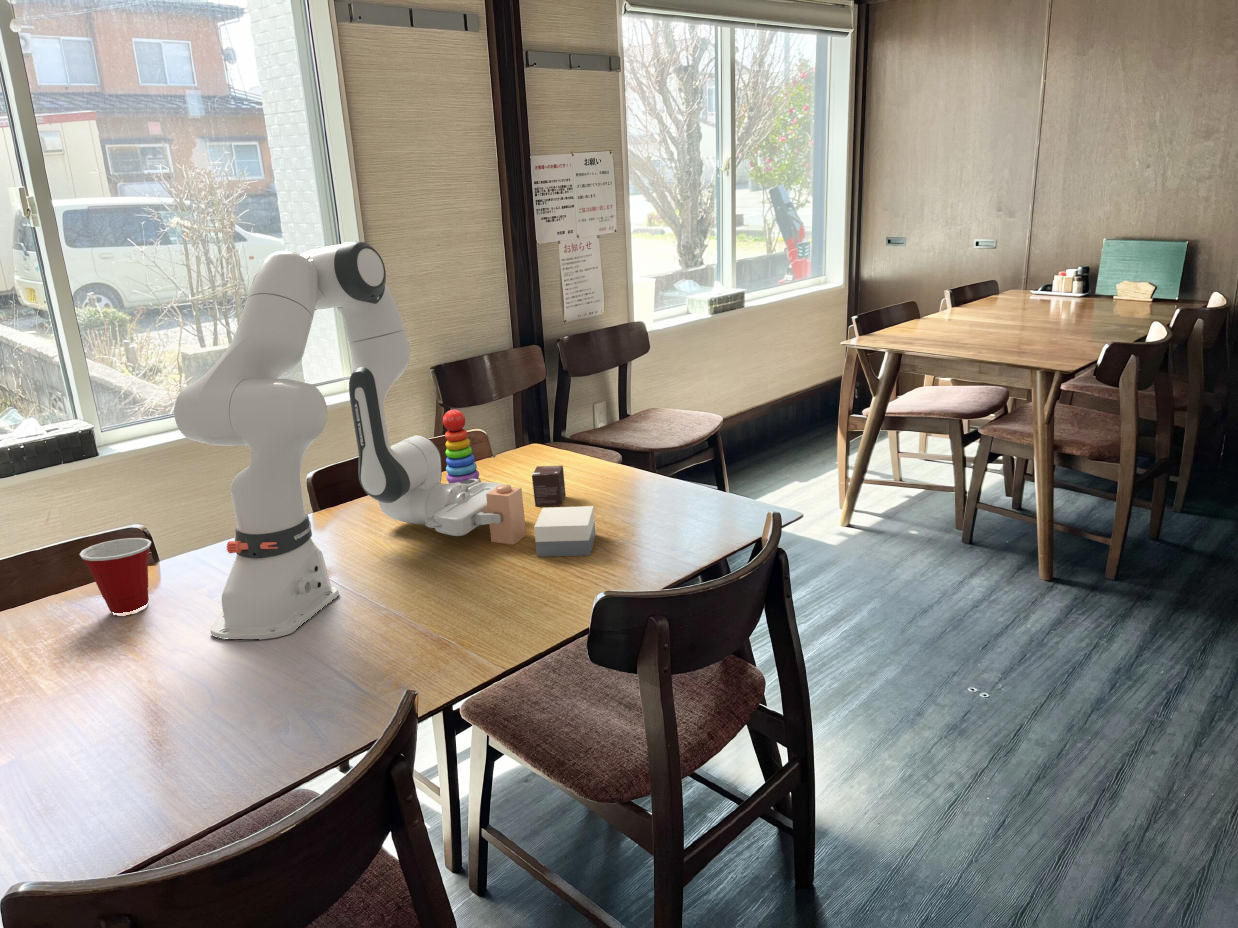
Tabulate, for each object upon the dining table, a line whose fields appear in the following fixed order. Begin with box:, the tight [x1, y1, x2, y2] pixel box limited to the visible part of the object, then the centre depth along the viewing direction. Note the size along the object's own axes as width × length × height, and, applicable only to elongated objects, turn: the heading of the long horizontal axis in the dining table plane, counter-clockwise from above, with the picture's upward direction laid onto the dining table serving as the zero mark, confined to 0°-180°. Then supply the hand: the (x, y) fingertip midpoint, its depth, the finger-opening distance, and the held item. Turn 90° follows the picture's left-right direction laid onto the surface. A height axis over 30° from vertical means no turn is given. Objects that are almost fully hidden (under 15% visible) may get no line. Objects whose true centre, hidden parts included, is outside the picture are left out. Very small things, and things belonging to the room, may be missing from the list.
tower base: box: [533, 505, 597, 558], centre depth 170 cm, size 10×10×6 cm
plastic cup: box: [79, 537, 152, 613], centre depth 154 cm, size 11×11×12 cm
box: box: [531, 465, 567, 507], centre depth 195 cm, size 6×6×7 cm
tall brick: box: [486, 483, 527, 546], centre depth 175 cm, size 5×5×11 cm
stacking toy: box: [442, 409, 482, 484], centre depth 205 cm, size 8×8×19 cm
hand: (510, 512), depth 175 cm, fingers closed on tall brick, 5 cm apart
